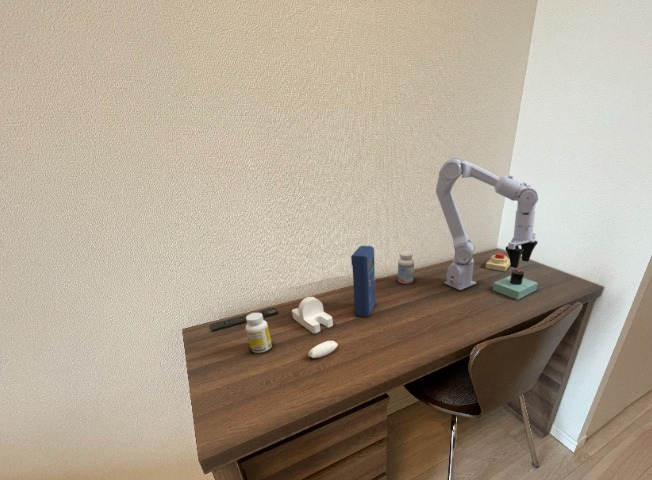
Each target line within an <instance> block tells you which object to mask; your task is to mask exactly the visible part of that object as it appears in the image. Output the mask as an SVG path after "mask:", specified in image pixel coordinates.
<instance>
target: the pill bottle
mask: <svg viewBox="0 0 652 480" xmlns="http://www.w3.org/2000/svg"><path fill="white" fill-rule="evenodd" d="M399 257H400V258H399V259H398V261H397V282H398V283H400V284H403V285H408V284H411V283H413V282H414V276H415V260H414V259H413V257H414V256H413V252H411V251H402V252H400V253H399Z"/></svg>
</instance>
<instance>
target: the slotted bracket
mask: <svg viewBox="0 0 652 480" xmlns="http://www.w3.org/2000/svg"><path fill="white" fill-rule="evenodd" d="M291 315H292V319H293V320H295V321H296V322H297V323H299V324H300V325H301V326H303V328H305V329H307V330H308V331H309V332H310V333H312V334H318V333H319V332H321V325H323V326H324V327H326V328H327V329H329V328H331V327H333V326H334V321H333V316H331V315H330V314H328V313H327V312H325V311H324V305H323V302H322V301H320V300H319V299H318V298H317V297H315V296H307V297H304V299H302V300H301V301H300V303H299V304H298V307H297V308H293V309H291Z"/></svg>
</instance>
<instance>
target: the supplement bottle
mask: <svg viewBox="0 0 652 480" xmlns="http://www.w3.org/2000/svg"><path fill="white" fill-rule="evenodd" d="M245 320H246V325H245V332H246V336H247V339H248V343H249V347H250V350H251V352H253V353H256V354H262V353H266V352H267V351H269V350H271V348H272V346H273V342H272V338H271V333H270V330H269V325H268V322H267V321H266V320H264V316H263V314H262V313H261V312H252V313H249V314H247V315H246V316H245Z"/></svg>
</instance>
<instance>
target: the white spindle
mask: <svg viewBox="0 0 652 480" xmlns="http://www.w3.org/2000/svg"><path fill="white" fill-rule="evenodd" d="M338 345H339V344H338V343H337V342H336V341H335V340H327V341H323V342H321V343H319V344H317V345H315V346H314V347H312V348H311V349H310V350H309V351H308V352H307V353H308V356H309V357H310V358H312V359H319V358H322V357H325V356H327V355H330V354H331V353H332V352H334V351H335V350H336V349H337V347H338Z"/></svg>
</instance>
